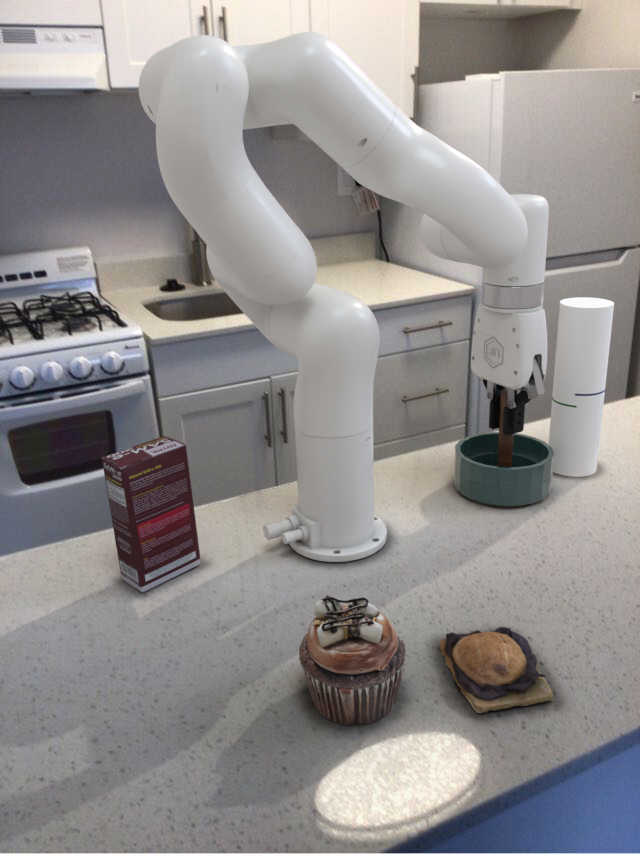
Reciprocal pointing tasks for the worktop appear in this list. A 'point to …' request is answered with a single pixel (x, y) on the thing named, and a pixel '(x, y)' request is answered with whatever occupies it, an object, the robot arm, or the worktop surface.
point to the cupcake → (352, 661)
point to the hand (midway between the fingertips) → (506, 428)
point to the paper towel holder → (504, 436)
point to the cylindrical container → (579, 384)
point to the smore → (495, 669)
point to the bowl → (503, 470)
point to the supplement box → (152, 511)
